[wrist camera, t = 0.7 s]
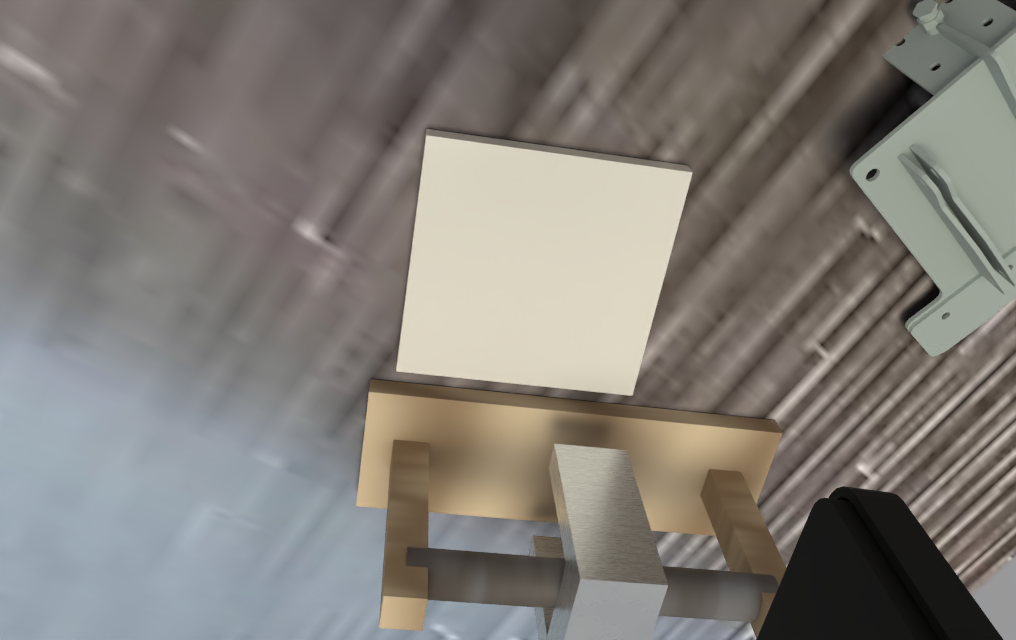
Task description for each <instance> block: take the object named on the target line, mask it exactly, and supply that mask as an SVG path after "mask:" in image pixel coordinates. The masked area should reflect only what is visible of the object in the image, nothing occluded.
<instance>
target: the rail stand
mask: <svg viewBox="0 0 1016 640" xmlns="http://www.w3.org/2000/svg"><path fill="white" fill-rule="evenodd" d="M781 436H782V432H781V430H780V428H779V426H778V425H777V423H776V421H775V420H768V419H758V418H748V417H738V416H728V415H719V414H709V413H699V412H689V411H679V410H670V409H660V408H650V407H640V406H630V405H620V404H611V403H601V402H591V401H581V400H571V399H562V398H552V397H542V396H532V395H522V394H513V393H503V392H493V391H483V390H473V389H463V388H454V387H444V386H434V385H424V384H414V383H405V382H395V381H385V380H375V379H370V388H369V396H368V405H367V414H366V423H365V432H364V441H363V450H362V458H361V467H360V476H359V485H358V494H357V503H356V506H361V507H374V508H386V509H387V518H386V533H385V548H384V563H383V578H382V592H381V607H380V622H379V628H388V629H403V630H419V631H422V630H423V624H424V618H425V612H426V606H427V600H440V601H454V602H469V603H483V604H498V605H512V606H526V607H541V608H554V607H555V603H556V599H557V596H558V592H559V588H560V584H561V580H562V576H563V572H564V568H565V564H566V562H565V559H563V558H550V557H537V556H524V555H511V554H498V553H485V552H472V551H459V550H446V549H433V548H428V512H434V513H446V514H458V515H470V516H482V517H494V518H507V519H519V520H531V521H543V522H555V523H558V517H557V512H556V506H555V500H554V495H553V489H552V483H551V478H550V472H549V464H550V460H551V455H552V451H553V447H554V444H565V445H576V446H586V447H597V448H607V449H618V450H627V453H628V456H629V459H630V462H631V466H632V469H633V472H634V475H635V479H636V482H637V485H638V488H639V492H640V495H641V498H642V501H643V505H644V508H645V511H646V515H647V518H648V521H649V524H650V528H651V530H652V531H664V532H676V533H688V534H700V535H712V536H716V537H717V539H718V542H719V544H720V547H721V549H722V552H723V554H724V557H725V560H726V562H727V565H728V567H729V570H730V571H718V570H705V569H692V568H679V567H666V566H662V567H663V570H664V573H665V577H666V580H667V583H668V588H667V591H666V594H665V597H664V600H663V603H662V606H661V609H660V612H659V615H658V616H670V617H685V618H699V619H714V620H728V621H742V622H750V623H751V625H752V628H753V631H754V633H755V636H756V638H757V637H758V635H759V632H760V630H761V627H762V625H763V623H764V620H765V618H766V616H767V613H768V611H769V609H770V606H771V604H772V602H773V599H774V597H775V594H776V592H777V590H778V587H779V585H780V583H781V580H782V578H783V576H784V573H785V571H786V566H785V564H784V562H783V560H782V558H781V556H780V554H779V552H778V549H777V547H776V545H775V543H774V541H773V539H772V537H771V535H770V532H769V530H768V528H767V526H766V524H765V522H764V520H763V518H762V515H761V513H760V511H759V509H758V507H757V505H756V504H757V501H758V498H759V496H760V493H761V490H762V488H763V485H764V482H765V479H766V477H767V474H768V471H769V469H770V466H771V463H772V460H773V458H774V455H775V452H776V449H777V447H778V444H779V441H780V439H781Z"/></svg>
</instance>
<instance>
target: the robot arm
mask: <svg viewBox="0 0 1016 640" xmlns="http://www.w3.org/2000/svg"><path fill="white" fill-rule="evenodd" d="M756 640H1003V639H1002V637H1001V636H1000V634H999V633H998V632H997V630H996V629H995V628H994V626H993V625H992V623H991V622H990V621H989V619H988V618H987V616H986V615H985V614H984V612H983V611H982V610H981V608H980V607H979V605H978V604H977V603H976V601H975V600H974V598H973V597H972V596H971V594H970V593H969V591H968V590H967V589H966V587H965V586H964V584H963V583H962V582H961V580H960V579H959V578H958V576H957V575H956V573H955V572H954V571H953V569H952V568H951V566H950V565H949V564H948V562H947V561H946V559H945V558H944V557H943V555H942V554H941V553H940V551H939V550H938V548H937V547H936V546H935V544H934V543H933V541H932V540H931V539H930V537H929V536H928V535H927V533H926V532H925V530H924V529H923V528H922V526H921V525H920V523H919V522H918V521H917V519H916V518H915V516H914V515H913V514H912V512H911V511H910V510H909V508H908V507H907V505H906V504H905V503H904V501H903V500H902V499H901V498H900V497H899V496H898V495H896V494H893V493H889V492H882V491H874V490H867V489H859V488H851V487H840V488H837V489H836V490H835V491H833V492H832V493H831V495H830V496H829V498H822V499H819V500H818V501H817V502H816V503H815V504H814V506H813V508H812V510H811V512H810V514H809V517H808V519H807V521H806V524H805V526H804V528H803V531H802V533H801V535H800V538H799V540H798V543H797V545H796V547H795V550H794V552H793V554H792V557H791V559H790V561H789V564H788V566H787V568H786V571H785V573H784V576H783V578H782V580H781V583H780V585H779V587H778V590H777V592H776V594H775V597H774V599H773V602H772V604H771V606H770V609H769V611H768V613H767V616H766V618H765V620H764V623H763V625H762V627H761V630H760V632H759V635H758V637H757V639H756Z"/></svg>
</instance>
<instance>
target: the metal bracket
mask: <svg viewBox="0 0 1016 640" xmlns="http://www.w3.org/2000/svg"><path fill="white" fill-rule="evenodd" d="M937 6H938V4H937V2H935V1H933V0H924V1H922V2H920V3H917V5H916V7H915V9H914V11H913V13H912V14H913V16H915V17H916V18H917V19H916V21H917V22H918V25H917V26H916V27H914V28H913V29H912V30H911V31H910V32H909V33H908V34H906V35H905V36H904V37H903V38H904V40H905V43H904V44H903V45H901V46H896V45H894V46H893V47H892V48H890V49H889V50H888V51H887V52H886V53H885V54H883V55H882V57H883V58H884V59H885V60H886V61H887V62H889V63H890V64H891V65H893V66H894V67H895V68H897V69H898V70H899V71H901V72H902V73H903V74H905V75H906V76H907V77H909V78H910V79H912V80H913V81H914V82H916V83H917V84H918V85H920V86H921V87H922V88H924V89H925V90H926V91H928V92H929V93H930V94H932V95H933V97H932V98H931V99H930V100H928V101H927V102H926V103H925V104H924V105H922V106H921V107H920V108H919V109H918V110H916V111H915V112H914V113H913V114H912V115H911V116H909V117H908V118H907V119H906V120H905V121H903V122H902V123H901V124H900V125H899V126H897V127H896V128H895V129H894V130H893V131H891V132H890V133H889V134H888V135H887V136H886V137H884V138H883V139H882V140H881V141H880V142H878V143H877V144H876V145H875V146H874V147H872V148H871V149H870V150H869V151H868V152H866V153H865V154H864V155H863V156H862V157H860V158H859V159H858V160H857V161H856V162H855V163H854V164H853V165H852V166H851V168H850V171H849V172H850V175H851V177H852V178H853V179H854V181H855V182H856V183H857V184H858V186H859V187H860V188H861V189H862V191H863V192H864V193H865V195H866V196H867V197H868V198H869V200H870V201H871V202H872V204H873V205H874V206H875V207H876V209H877V210H878V211H879V213H880V214H881V215H882V216H883V218H884V219H885V220H886V221H887V223H888V224H889V225H890V227H891V228H892V229H893V230H894V232H895V233H896V234H897V236H898V237H899V238H900V239H901V241H902V242H903V243H904V245H905V246H906V247H907V248H908V250H909V251H910V252H911V253H912V255H913V256H914V257H915V259H916V260H917V261H918V262H919V264H920V265H921V266H922V268H923V269H924V270H925V271H926V273H927V274H928V275H929V277H930V278H931V279H932V280H933V282H934V283H935V284H936V285H937V287H938V288H939V290H940V293H939V295H938V296H937V298H936V299H934V300H933V301H932V302H930V303H929V304H928V305H927V306H925V307H924V308H923V309H921V310H920V311H919V312H917V313H916V314H915V315H913V316H912V317H911V318H909V319H908V320H907V322H906V323H905V327H906V329H907V330H908V331H909V332H910V333H911V334H912V336H913V337H914V338H915V339H916V340H917V341H918V342H919V344H920V345H921V346H922V347H923V348H924V349H925V350H926V352H927V353H928V354H929V355H930V356H932V357H933V356H937V355H939V354H940V353H943V352H945V351H947V350H948V349H949V348H951V347H952V346H954V345H955V344H956V343H958V342H959V341H960V340H962V339H963V338H964V337H966V336H967V335H968V334H970V333H971V332H972V331H974V330H975V329H977V328H978V327H979V326H981V325H982V324H983V323H985V322H986V321H987V320H989V319H990V318H991V317H993V316H994V315H996V314H997V313H998V312H1000V310H999V309H1001V308H1002V307H1003V306H1005V305H1006V304H1007V303H1009V302H1010V301H1011V300H1013V299H1014V298H1015V297H1016V11H1015V10H1013V9H1011V8H1010V7H1008V6H1006V5H1004V4H1003V3H1001V2H999V1H997V0H953V1H952V2H950V3H945V2H943V3H942V4H941V5H940V6H939V7H937ZM989 21H993V22H992V24H990V25H989V26H985V27H984V25H985V24H986V23H987V22H989ZM937 65H941V66H940V68H939V69H937V70H935V71H932V69H933V68H934V67H935V66H937ZM876 168H877V172H876V174H875V175H874V176H873V177H872V178H870V179H866V176H867V174H868V172H869V171H870V170H872V169H876Z"/></svg>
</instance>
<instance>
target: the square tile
mask: <svg viewBox="0 0 1016 640" xmlns="http://www.w3.org/2000/svg"><path fill="white" fill-rule="evenodd" d="M692 173H693V172H692V171H691V170H690V168H689V167H688V166H687V165H681V164H673V163H666V162H659V161H652V160H645V159H638V158H631V157H624V156H617V155H609V154H602V153H595V152H588V151H581V150H574V149H567V148H560V147H553V146H545V145H538V144H531V143H524V142H517V141H510V140H503V139H496V138H489V137H481V136H474V135H467V134H460V133H453V132H446V131H439V130H432V129H426V137H425V144H424V152H423V160H422V168H421V176H420V184H419V192H418V199H417V207H416V215H415V223H414V231H413V239H412V247H411V254H410V262H409V270H408V278H407V286H406V294H405V302H404V309H403V317H402V325H401V333H400V341H399V349H398V356H397V367H396V371H398V372H408V373H418V374H427V375H437V376H447V377H456V378H466V379H476V380H485V381H495V382H505V383H514V384H524V385H534V386H543V387H553V388H563V389H572V390H582V391H592V392H601V393H611V394H621V395H630V396H632V395H633V391H634V388H635V384H636V380H637V376H638V373H639V369H640V365H641V362H642V358H643V354H644V351H645V347H646V343H647V339H648V336H649V332H650V328H651V325H652V321H653V317H654V314H655V310H656V306H657V302H658V299H659V295H660V291H661V288H662V284H663V280H664V277H665V273H666V269H667V265H668V262H669V258H670V254H671V251H672V247H673V243H674V239H675V236H676V232H677V228H678V225H679V221H680V217H681V214H682V210H683V206H684V202H685V199H686V195H687V191H688V188H689V184H690V180H691V177H692Z"/></svg>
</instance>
